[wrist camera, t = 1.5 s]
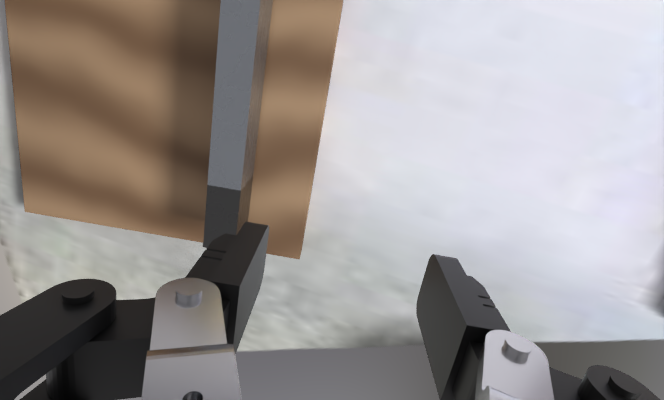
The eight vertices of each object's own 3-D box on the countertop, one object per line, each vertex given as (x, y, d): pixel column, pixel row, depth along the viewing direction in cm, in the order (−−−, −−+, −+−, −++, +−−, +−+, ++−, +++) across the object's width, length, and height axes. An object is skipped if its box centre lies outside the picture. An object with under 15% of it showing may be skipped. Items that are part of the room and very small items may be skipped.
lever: (244, -186, 24) (219, -245, 20) (302, -175, 24) (291, -230, 20) (211, 224, 34) (190, 251, 29) (253, 231, 34) (238, 260, 29)
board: (-2, -266, 25) (-23, -286, 23) (374, -188, 25) (376, -203, 24) (37, 205, 35) (24, 211, 34) (301, 251, 36) (299, 259, 35)
